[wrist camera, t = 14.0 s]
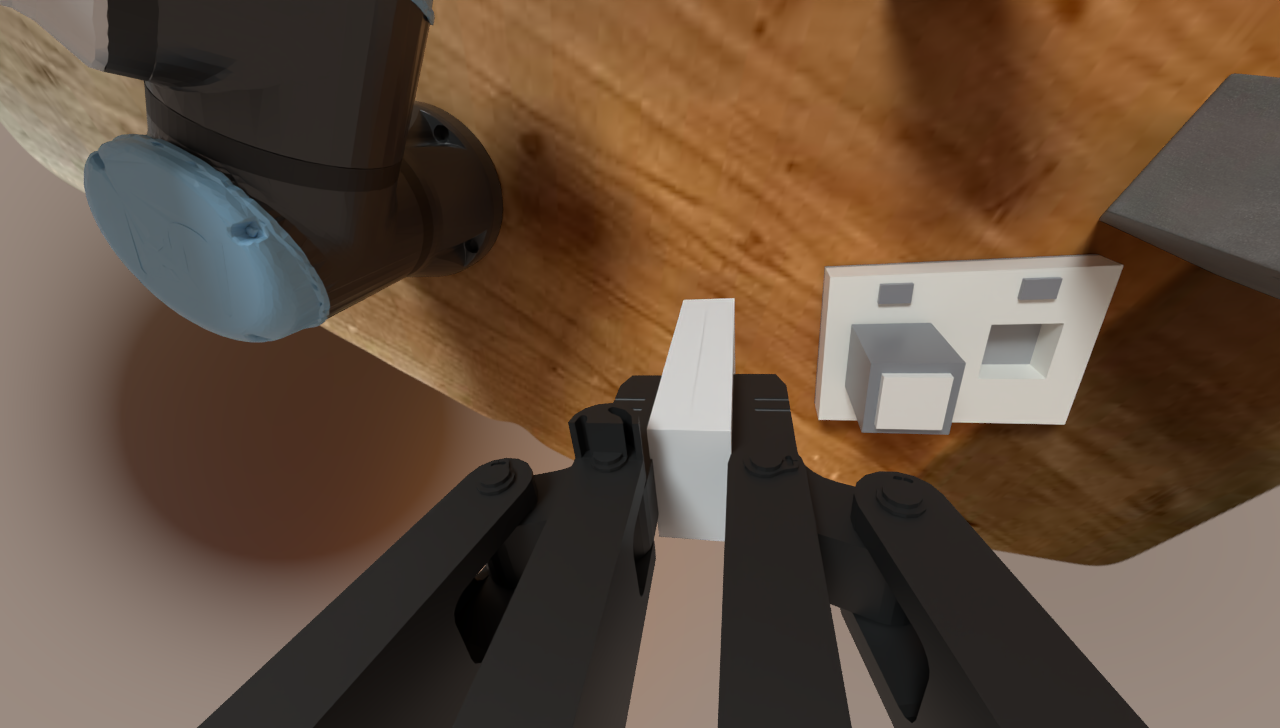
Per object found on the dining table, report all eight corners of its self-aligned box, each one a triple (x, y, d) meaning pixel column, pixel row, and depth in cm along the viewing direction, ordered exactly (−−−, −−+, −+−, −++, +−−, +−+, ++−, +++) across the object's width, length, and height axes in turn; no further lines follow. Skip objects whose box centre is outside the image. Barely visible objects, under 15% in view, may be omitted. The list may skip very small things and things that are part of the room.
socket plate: (814, 402, 48) (819, 422, 45) (824, 266, 41) (831, 278, 38) (1045, 405, 43) (1067, 427, 40) (1097, 253, 37) (1127, 266, 34)
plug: (838, 369, 45) (863, 437, 36) (844, 311, 42) (872, 367, 33) (908, 369, 44) (951, 439, 35) (919, 309, 41) (969, 367, 32)
